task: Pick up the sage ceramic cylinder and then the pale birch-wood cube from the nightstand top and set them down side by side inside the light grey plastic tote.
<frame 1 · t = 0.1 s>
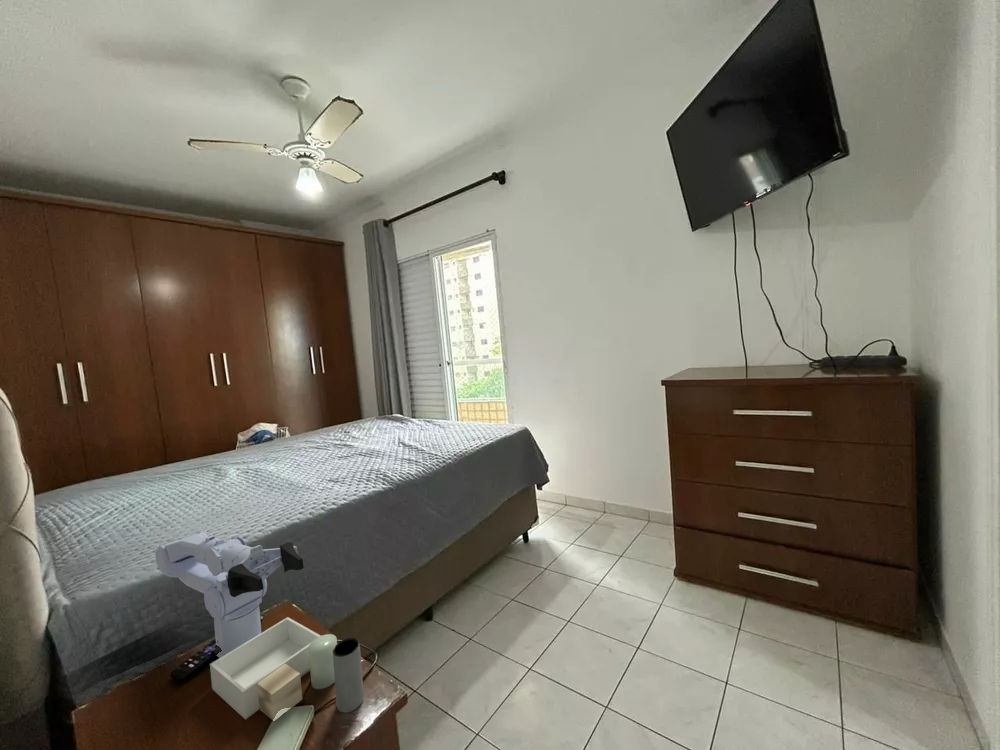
hand: (281, 573, 73), 22 cm above the table, tool horizontal, fingers open, 7 cm apart
tote: (270, 673, 77), on the table
cube: (281, 704, 70), on the table, touching tote
planter: (350, 702, 69), on the table
canister: (325, 678, 75), on the table
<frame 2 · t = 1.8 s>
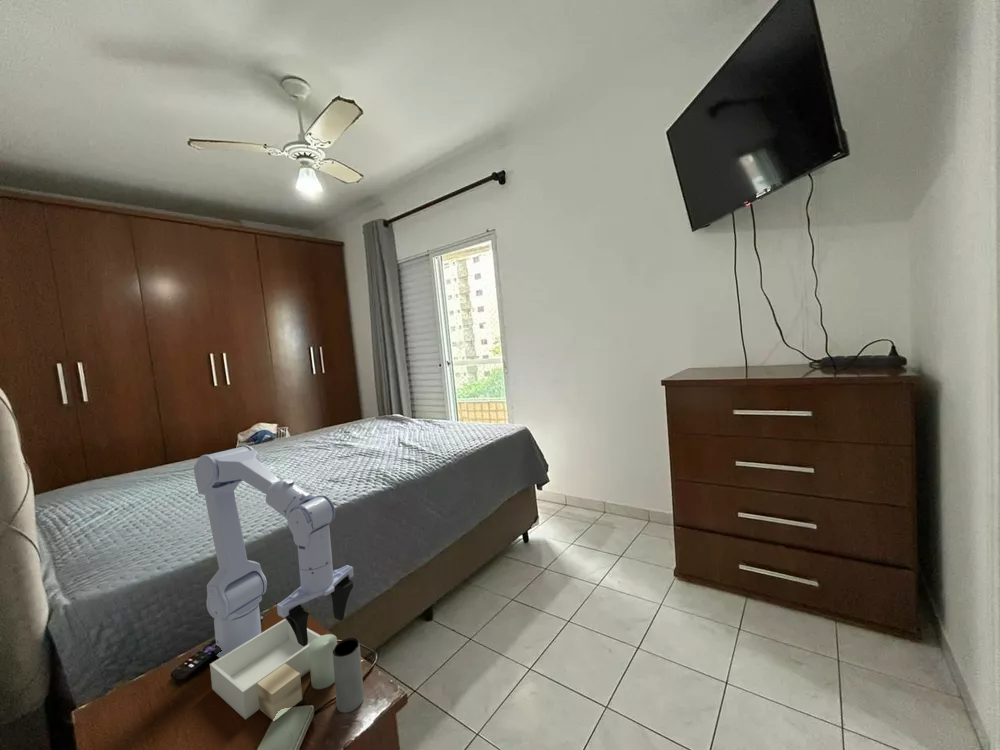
hand: (321, 630, 75), 10 cm above the table, tool pointing down, fingers open, 7 cm apart
cube: (281, 704, 70), on the table
everything else where it was.
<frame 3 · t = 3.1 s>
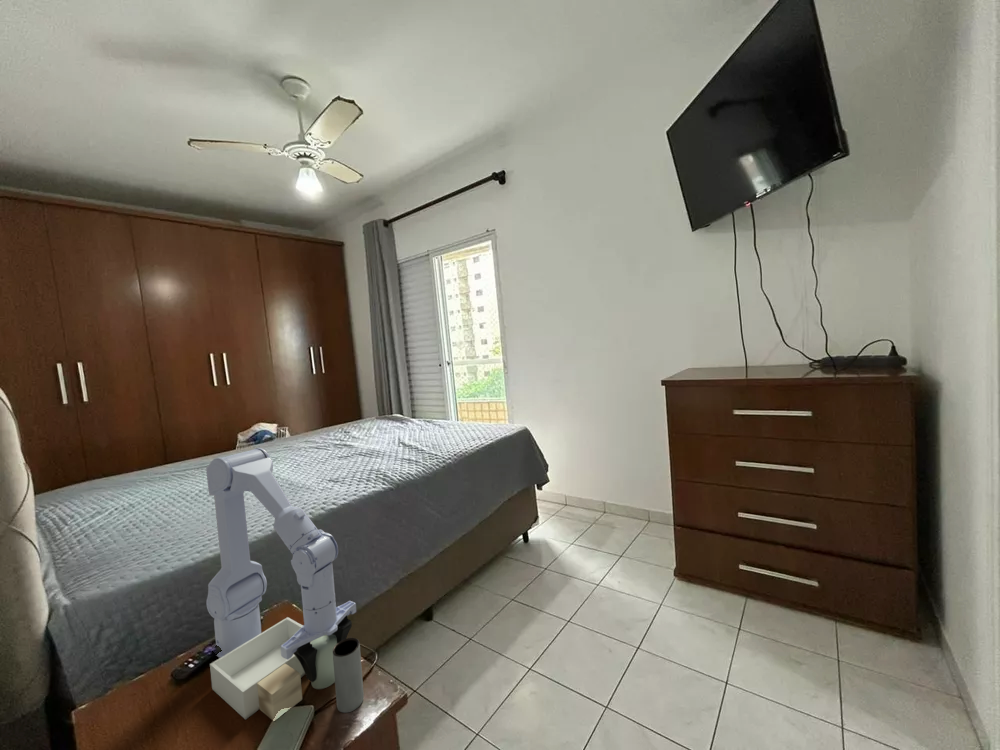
hand: (324, 668, 75), 2 cm above the table, tool pointing down, fingers closed on canister, 5 cm apart
cube: (281, 704, 70), on the table, touching tote
canister: (325, 678, 75), on the table, touching gripper
everything else where it was.
when the fingers open (4 cm above the table, at t = 8.0 s): canister drops 2 cm, resting on tote.
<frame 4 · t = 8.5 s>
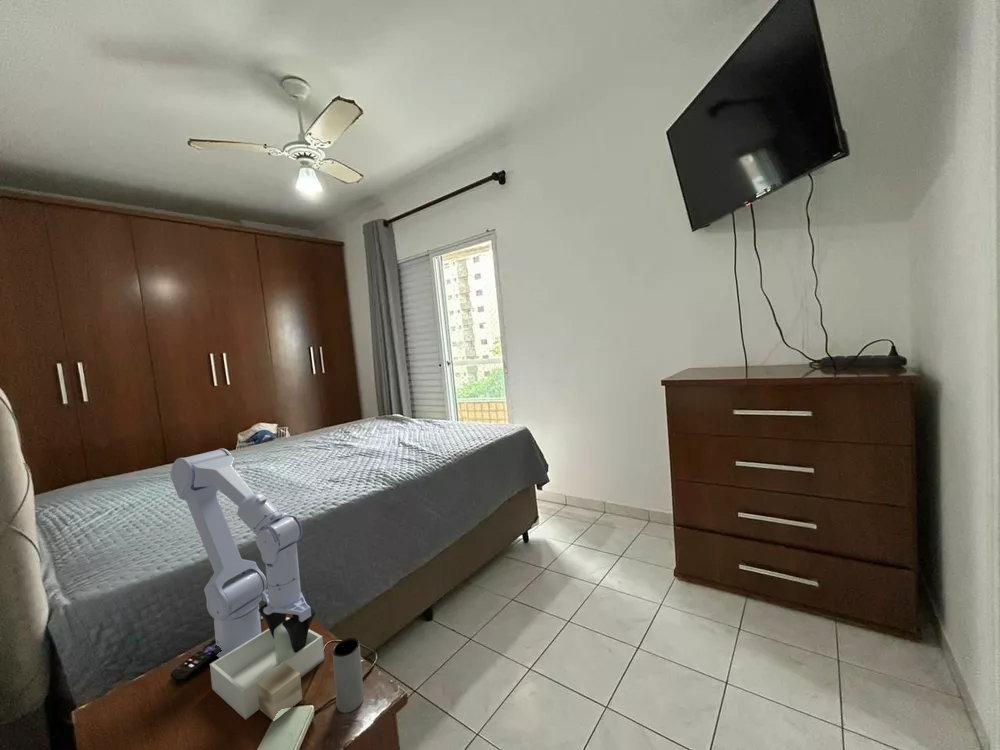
hand: (289, 642, 79), 4 cm above the table, tool pointing down, fingers open, 7 cm apart
cube: (281, 704, 70), on the table
canister: (290, 660, 79), point 1 cm above the table, touching tote
everything else where it was.
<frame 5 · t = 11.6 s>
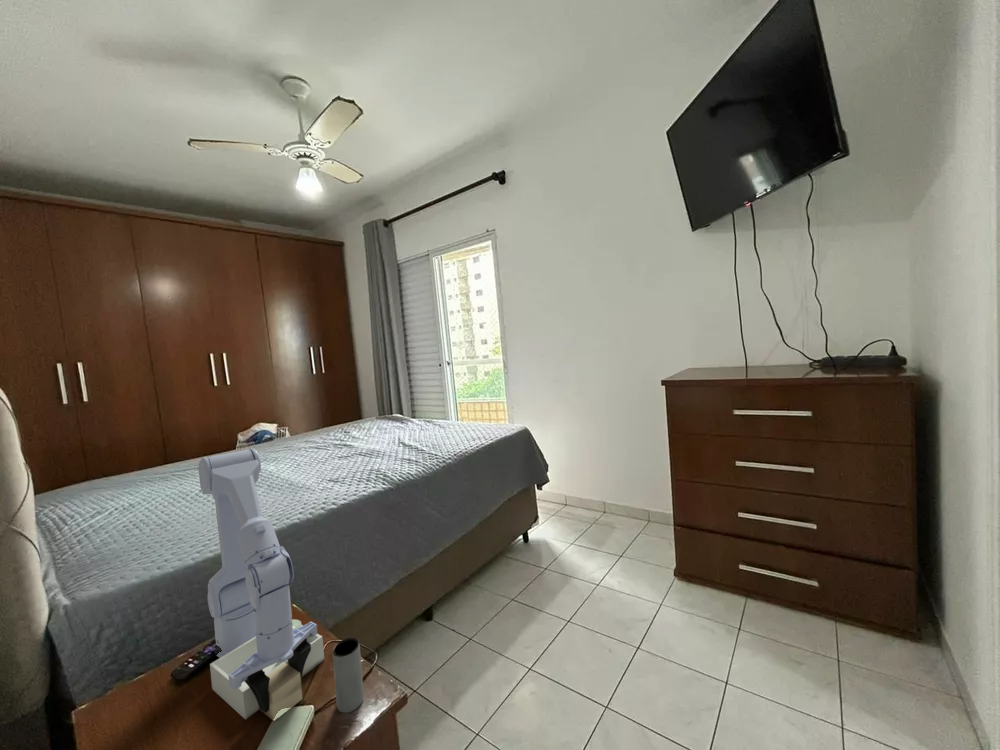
hand: (280, 696, 70), 1 cm above the table, tool pointing down, fingers closed on cube, 5 cm apart
cube: (281, 704, 70), on the table, touching gripper
everything else where it was.
when the fingers open (3 cm above the table, at t = 15.0 s): cube drops 1 cm, resting on tote.
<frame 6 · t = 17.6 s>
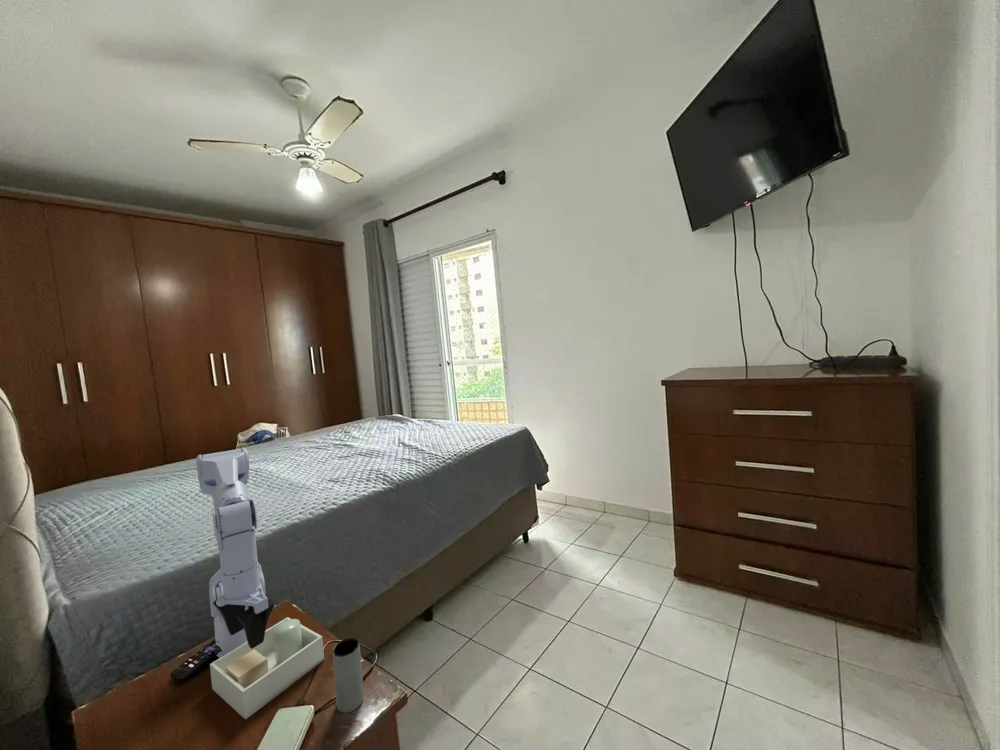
hand: (246, 638, 73), 10 cm above the table, tool pointing down, fingers open, 7 cm apart
cube: (248, 688, 73), resting on tote
everything else where it was.
at the end: canister inside the target area (3.7 cm from its centre), point 0.6 cm above the table; cube inside the target area (4.1 cm from its centre), point 0.5 cm above the table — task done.
